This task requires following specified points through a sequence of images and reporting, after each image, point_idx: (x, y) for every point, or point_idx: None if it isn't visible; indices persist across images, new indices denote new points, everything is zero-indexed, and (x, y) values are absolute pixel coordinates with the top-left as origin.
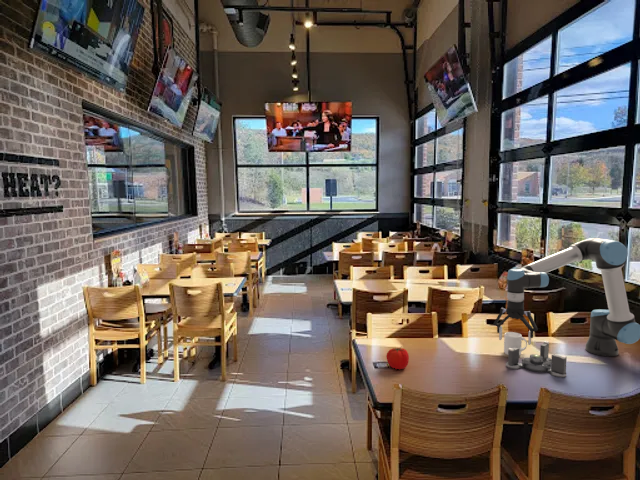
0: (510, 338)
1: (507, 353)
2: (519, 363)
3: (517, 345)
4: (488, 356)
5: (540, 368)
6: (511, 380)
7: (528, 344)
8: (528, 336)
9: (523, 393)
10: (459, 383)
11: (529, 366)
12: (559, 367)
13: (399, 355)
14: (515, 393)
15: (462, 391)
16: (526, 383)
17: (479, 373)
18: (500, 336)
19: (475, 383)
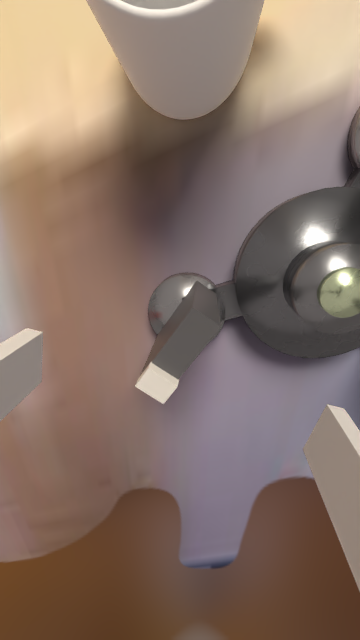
0: (136, 33)
1: (149, 105)
2: (220, 291)
3: (222, 65)
4: (44, 194)
5: (326, 354)
6: (178, 454)
7: (305, 452)
8: (344, 553)
9: (214, 528)
10: (19, 508)
11: (269, 344)
12: None
13: None
14: (189, 532)
15: (43, 546)
16: (232, 465)
17: (56, 426)
18: (11, 407)
19: (63, 499)
